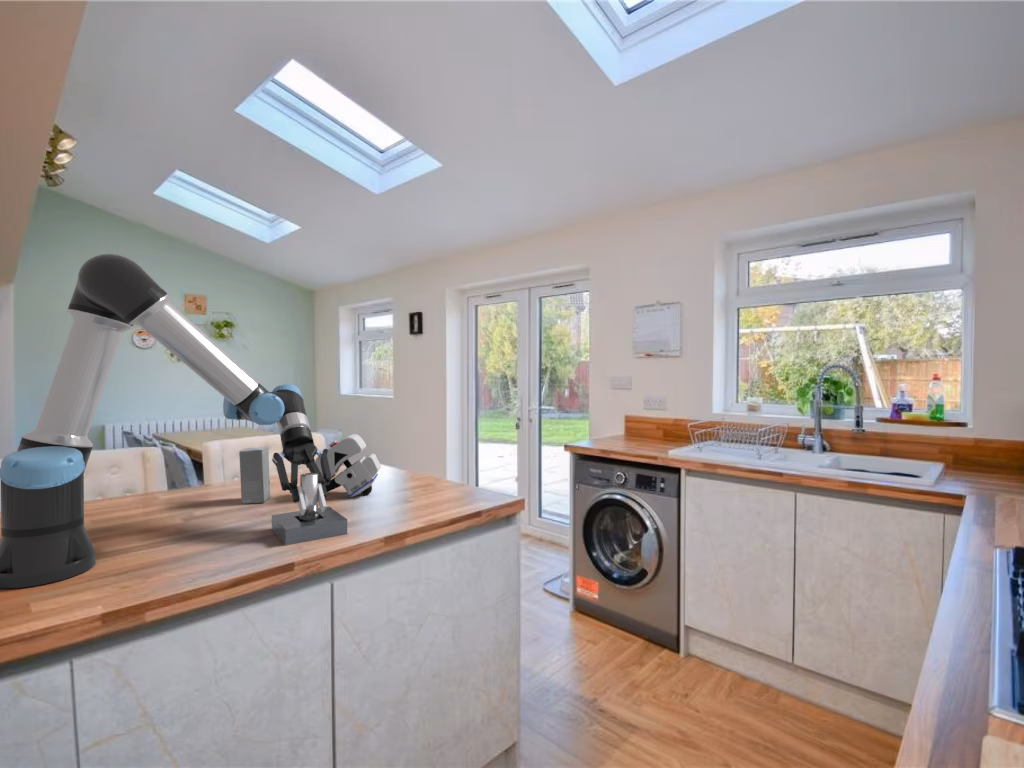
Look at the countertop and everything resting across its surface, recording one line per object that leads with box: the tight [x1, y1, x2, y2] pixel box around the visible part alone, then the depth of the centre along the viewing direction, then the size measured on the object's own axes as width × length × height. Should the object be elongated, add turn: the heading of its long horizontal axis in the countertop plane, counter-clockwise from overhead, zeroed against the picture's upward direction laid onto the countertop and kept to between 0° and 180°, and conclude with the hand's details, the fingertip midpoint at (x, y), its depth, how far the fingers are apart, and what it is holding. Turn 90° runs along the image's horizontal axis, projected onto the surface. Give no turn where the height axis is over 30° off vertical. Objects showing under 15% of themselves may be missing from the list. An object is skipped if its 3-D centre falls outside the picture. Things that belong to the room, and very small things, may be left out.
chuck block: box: [271, 506, 348, 546], centre depth 123 cm, size 14×14×4 cm
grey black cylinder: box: [299, 472, 319, 522], centre depth 123 cm, size 4×4×12 cm
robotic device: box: [315, 433, 382, 498], centre depth 159 cm, size 10×21×20 cm
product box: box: [238, 446, 271, 504], centre depth 151 cm, size 8×7×16 cm
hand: (313, 510), depth 120 cm, fingers closed on grey black cylinder, 4 cm apart
